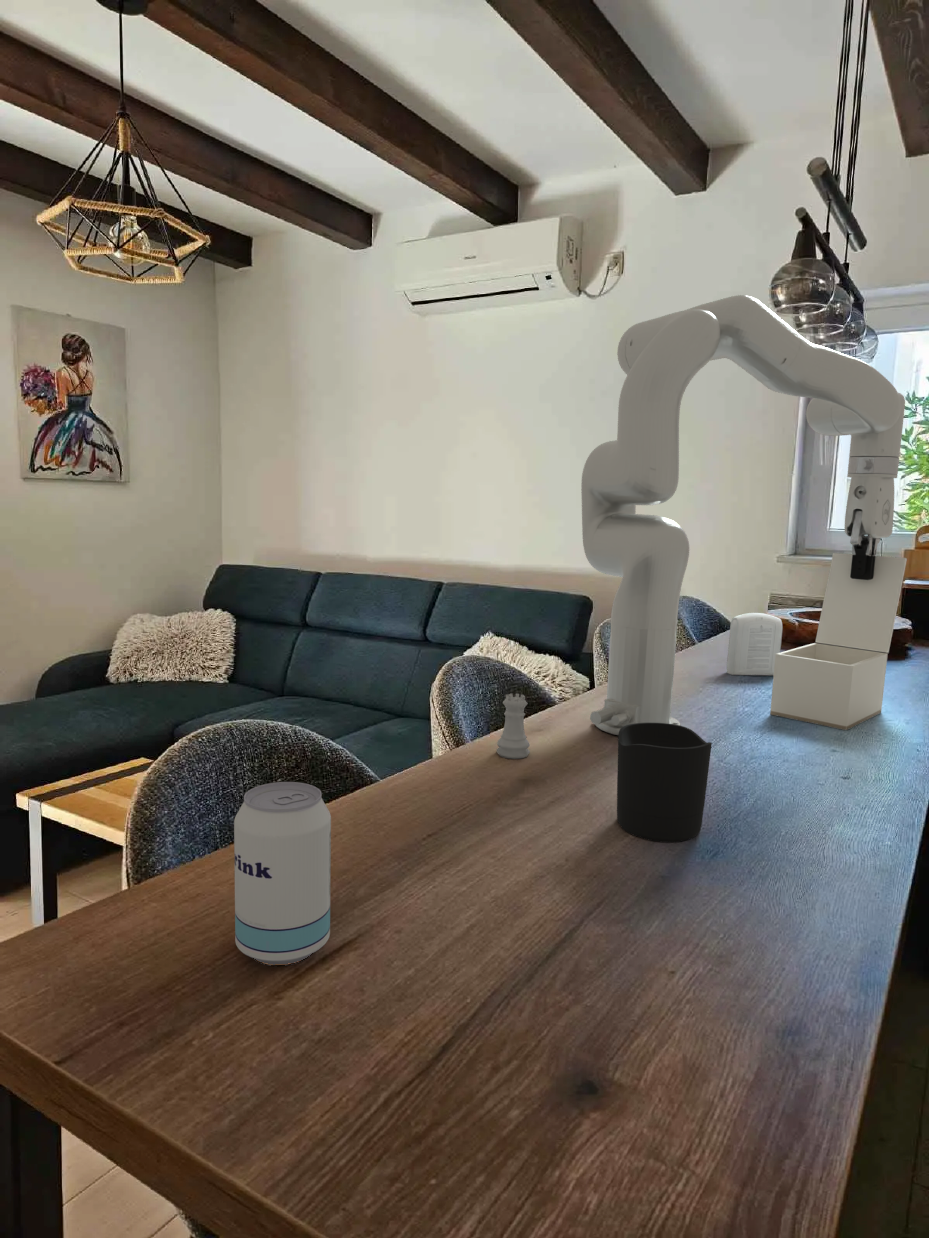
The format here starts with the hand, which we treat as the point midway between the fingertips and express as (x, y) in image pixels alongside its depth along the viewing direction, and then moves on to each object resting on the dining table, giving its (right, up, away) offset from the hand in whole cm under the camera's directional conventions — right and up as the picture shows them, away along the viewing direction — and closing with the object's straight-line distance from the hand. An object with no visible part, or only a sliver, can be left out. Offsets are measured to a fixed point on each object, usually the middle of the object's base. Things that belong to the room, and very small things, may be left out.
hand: (861, 578), depth 141 cm
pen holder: (-47, -29, -53) cm, 77 cm away
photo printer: (-10, -18, +25) cm, 33 cm away
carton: (-8, -22, -4) cm, 24 cm away
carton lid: (0, -4, +1) cm, 4 cm away
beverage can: (-81, -32, -79) cm, 117 cm away
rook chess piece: (-61, -25, -31) cm, 72 cm away
